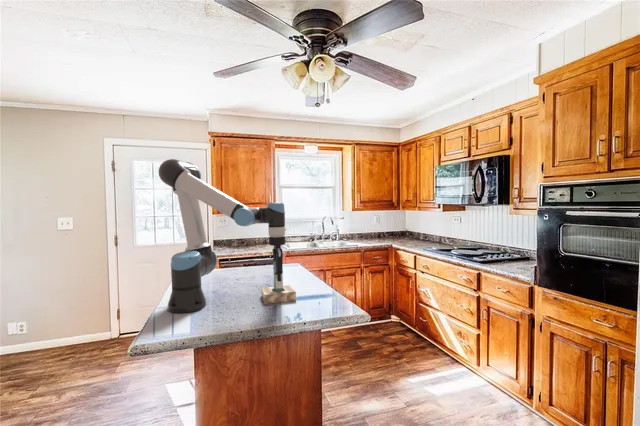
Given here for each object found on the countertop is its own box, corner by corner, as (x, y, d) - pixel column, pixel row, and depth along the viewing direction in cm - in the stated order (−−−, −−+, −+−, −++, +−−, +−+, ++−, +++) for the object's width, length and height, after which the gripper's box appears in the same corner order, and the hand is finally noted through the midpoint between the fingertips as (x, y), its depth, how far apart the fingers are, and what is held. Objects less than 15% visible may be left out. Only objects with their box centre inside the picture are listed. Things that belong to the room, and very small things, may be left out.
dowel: (274, 293, 143) (274, 263, 143) (273, 291, 147) (272, 261, 147) (283, 292, 145) (282, 262, 144) (281, 290, 148) (281, 261, 148)
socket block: (264, 303, 138) (264, 294, 138) (261, 296, 150) (261, 287, 150) (295, 300, 142) (295, 291, 142) (290, 293, 154) (290, 285, 154)
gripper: (288, 237, 138) (289, 290, 139) (281, 234, 154) (283, 281, 155) (271, 238, 136) (272, 292, 137) (266, 234, 152) (267, 283, 153)
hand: (278, 286), depth 146 cm, fingers closed on dowel, 4 cm apart
